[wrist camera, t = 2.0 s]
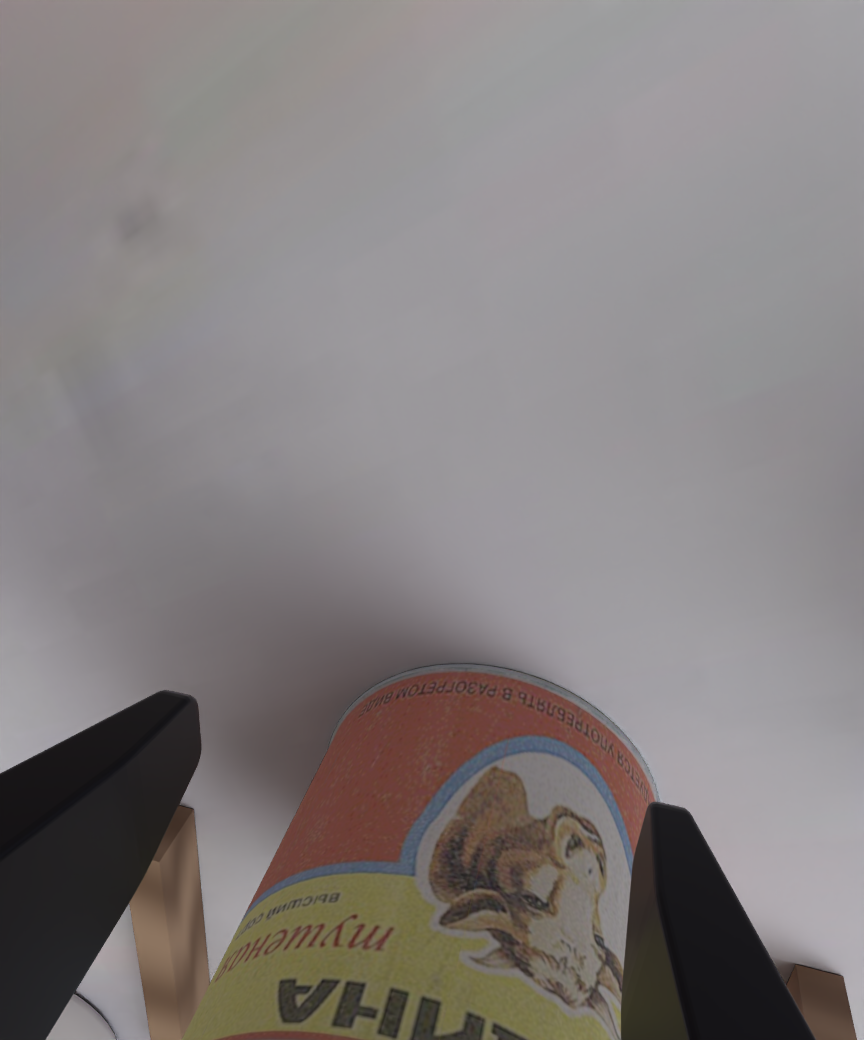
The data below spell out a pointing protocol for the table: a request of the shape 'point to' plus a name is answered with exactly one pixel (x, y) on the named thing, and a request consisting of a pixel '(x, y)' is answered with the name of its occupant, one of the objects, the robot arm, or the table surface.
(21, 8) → the table surface
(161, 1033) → the display stand
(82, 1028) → the milk bottle
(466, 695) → the canned food
